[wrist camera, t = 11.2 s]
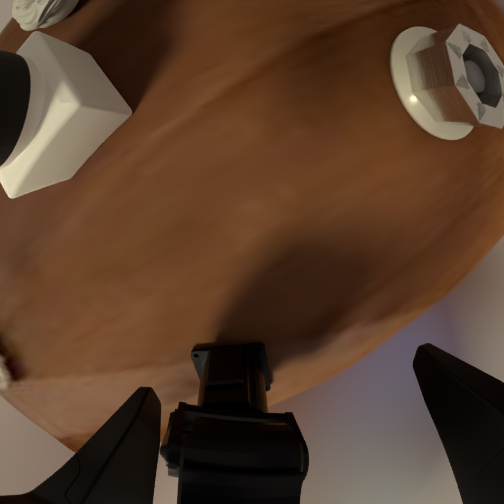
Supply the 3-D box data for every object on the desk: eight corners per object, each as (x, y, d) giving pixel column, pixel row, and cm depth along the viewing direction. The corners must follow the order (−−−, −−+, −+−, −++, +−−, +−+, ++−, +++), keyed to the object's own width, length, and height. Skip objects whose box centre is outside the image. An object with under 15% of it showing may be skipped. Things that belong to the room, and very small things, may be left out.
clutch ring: (478, 92, 14) (517, 91, 9) (448, 141, 16) (492, 147, 11) (429, 27, 12) (466, 13, 7) (392, 71, 14) (433, 57, 9)
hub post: (479, 143, 16) (514, 150, 12) (398, 136, 17) (436, 138, 12) (464, 44, 13) (496, 36, 8) (377, 17, 13) (406, -4, 8)
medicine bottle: (90, 52, 13) (-22, 9, 2) (135, 113, 15) (7, 92, 4) (32, 118, 14) (-82, 131, 3) (71, 180, 17) (-52, 232, 6)
